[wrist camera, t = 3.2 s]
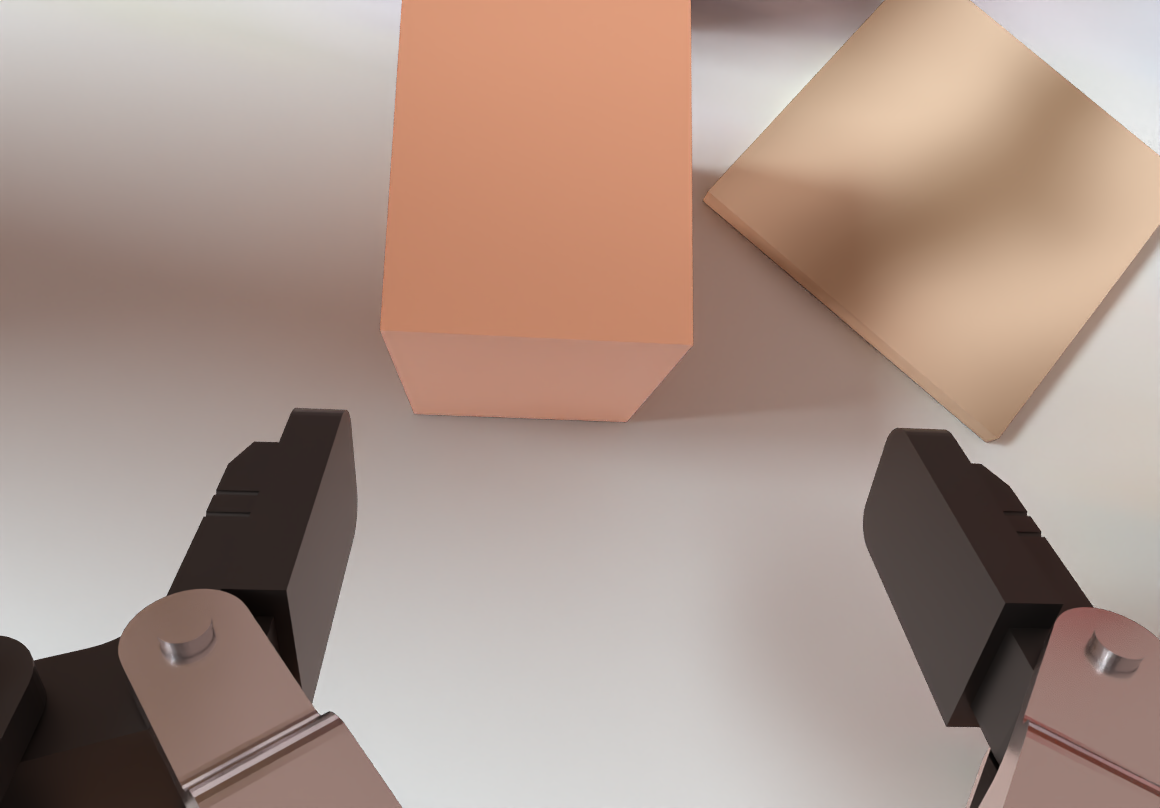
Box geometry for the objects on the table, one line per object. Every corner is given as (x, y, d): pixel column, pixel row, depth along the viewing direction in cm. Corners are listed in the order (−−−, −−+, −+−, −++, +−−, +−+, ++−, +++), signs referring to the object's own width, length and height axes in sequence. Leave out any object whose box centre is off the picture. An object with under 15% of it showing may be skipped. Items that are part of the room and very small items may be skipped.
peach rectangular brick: (627, 422, 23) (693, 345, 16) (414, 413, 22) (379, 330, 15) (629, 156, 24) (690, -28, 17) (429, 143, 24) (405, -53, 17)
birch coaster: (702, 200, 24) (708, 191, 24) (911, -26, 27) (921, -40, 26) (985, 442, 24) (998, 438, 23) (1175, 191, 26) (1191, 181, 25)
